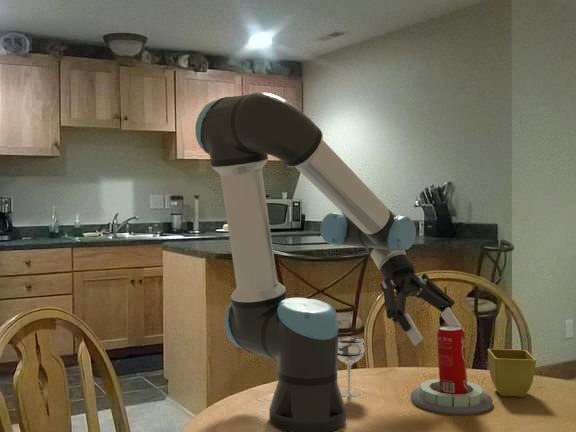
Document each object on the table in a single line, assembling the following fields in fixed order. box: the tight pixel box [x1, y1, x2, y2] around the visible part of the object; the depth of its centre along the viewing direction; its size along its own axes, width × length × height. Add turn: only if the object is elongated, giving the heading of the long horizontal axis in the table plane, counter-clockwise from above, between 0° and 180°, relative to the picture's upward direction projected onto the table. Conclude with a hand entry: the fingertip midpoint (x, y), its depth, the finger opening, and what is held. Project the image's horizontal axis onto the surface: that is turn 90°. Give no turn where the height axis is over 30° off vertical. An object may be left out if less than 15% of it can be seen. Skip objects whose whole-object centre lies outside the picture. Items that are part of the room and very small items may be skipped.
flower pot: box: [487, 348, 537, 398], centre depth 149 cm, size 9×9×9 cm
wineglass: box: [337, 336, 365, 398], centre depth 148 cm, size 7×7×12 cm
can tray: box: [410, 378, 493, 416], centre depth 143 cm, size 17×17×3 cm
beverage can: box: [436, 325, 468, 394], centre depth 143 cm, size 6×6×15 cm
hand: (440, 338), depth 147 cm, fingers open, 13 cm apart
